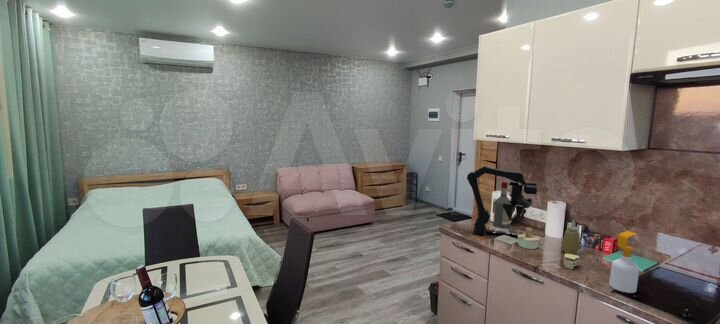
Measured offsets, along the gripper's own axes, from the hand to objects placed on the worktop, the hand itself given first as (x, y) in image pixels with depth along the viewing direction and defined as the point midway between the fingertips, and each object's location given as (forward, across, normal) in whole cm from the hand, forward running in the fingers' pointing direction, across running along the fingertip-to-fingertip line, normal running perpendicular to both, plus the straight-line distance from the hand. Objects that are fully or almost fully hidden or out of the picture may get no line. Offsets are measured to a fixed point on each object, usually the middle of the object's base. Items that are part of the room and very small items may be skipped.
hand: (514, 218), depth 198 cm
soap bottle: (+13, -17, -59) cm, 63 cm away
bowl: (+12, -4, -11) cm, 17 cm away
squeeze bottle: (+13, +6, -29) cm, 32 cm away
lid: (+8, -4, -11) cm, 14 cm away
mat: (+12, -4, +1) cm, 13 cm away
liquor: (+13, +17, +18) cm, 28 cm away
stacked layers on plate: (+13, -12, -37) cm, 41 cm away
